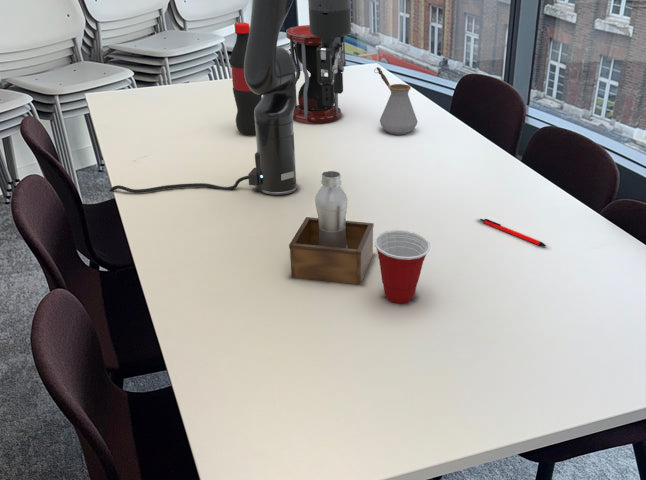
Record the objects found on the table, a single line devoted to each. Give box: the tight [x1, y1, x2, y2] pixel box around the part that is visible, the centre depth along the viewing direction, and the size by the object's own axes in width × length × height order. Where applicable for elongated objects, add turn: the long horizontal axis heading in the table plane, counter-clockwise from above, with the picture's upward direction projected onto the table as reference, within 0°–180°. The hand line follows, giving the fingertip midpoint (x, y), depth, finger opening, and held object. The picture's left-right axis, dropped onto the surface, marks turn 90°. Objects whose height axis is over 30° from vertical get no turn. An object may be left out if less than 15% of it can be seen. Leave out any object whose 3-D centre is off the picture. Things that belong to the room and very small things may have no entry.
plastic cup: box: [374, 229, 431, 304], centre depth 148 cm, size 11×11×12 cm
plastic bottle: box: [314, 170, 349, 248], centre depth 155 cm, size 6×7×20 cm
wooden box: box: [288, 216, 375, 285], centre depth 159 cm, size 15×14×7 cm
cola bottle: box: [229, 22, 263, 137], centre depth 219 cm, size 8×8×30 cm
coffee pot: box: [373, 66, 418, 136], centre depth 231 cm, size 21×12×15 cm, turn 26°
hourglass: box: [285, 24, 342, 125], centre depth 234 cm, size 16×16×25 cm
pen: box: [479, 218, 547, 247], centre depth 175 cm, size 1×19×1 cm, turn 45°
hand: (333, 99), depth 146 cm, fingers open, 8 cm apart
